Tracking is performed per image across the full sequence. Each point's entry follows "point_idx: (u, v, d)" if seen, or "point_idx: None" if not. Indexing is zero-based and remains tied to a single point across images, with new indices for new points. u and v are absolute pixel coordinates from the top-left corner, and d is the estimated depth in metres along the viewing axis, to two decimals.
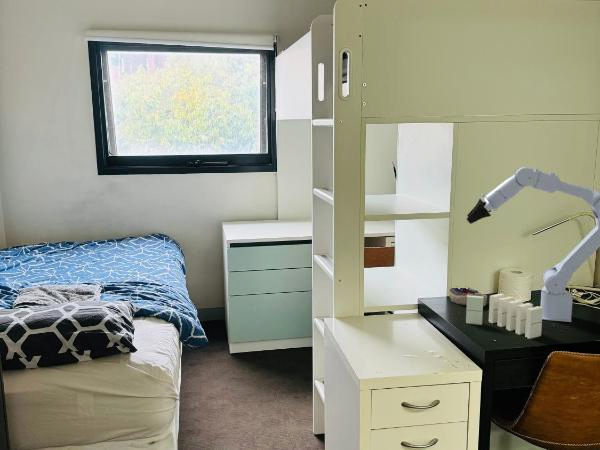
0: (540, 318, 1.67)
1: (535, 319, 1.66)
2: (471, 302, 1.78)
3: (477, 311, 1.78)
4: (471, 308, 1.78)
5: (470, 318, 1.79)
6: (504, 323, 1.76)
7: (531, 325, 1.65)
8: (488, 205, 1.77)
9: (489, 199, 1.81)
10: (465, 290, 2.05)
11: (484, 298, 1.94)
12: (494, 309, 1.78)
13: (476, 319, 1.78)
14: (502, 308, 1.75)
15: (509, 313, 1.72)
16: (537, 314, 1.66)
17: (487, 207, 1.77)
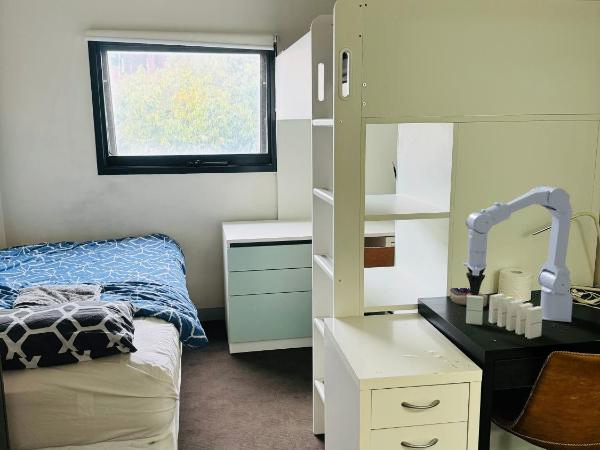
0: (540, 318, 1.67)
1: (535, 319, 1.66)
2: (471, 302, 1.78)
3: (477, 311, 1.78)
4: (471, 308, 1.78)
5: (470, 318, 1.79)
6: (504, 323, 1.76)
7: (531, 325, 1.65)
8: (474, 271, 1.70)
9: (471, 264, 1.74)
10: (465, 290, 2.05)
11: (484, 298, 1.94)
12: (494, 309, 1.78)
13: (476, 319, 1.78)
14: (502, 308, 1.75)
15: (509, 313, 1.72)
16: (537, 314, 1.66)
17: (475, 273, 1.70)
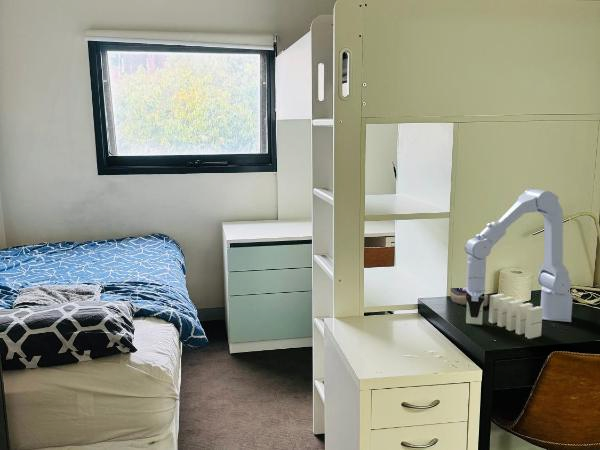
0: (540, 318, 1.67)
1: (535, 319, 1.66)
2: None
3: None
4: None
5: (470, 318, 1.79)
6: (504, 323, 1.76)
7: (531, 325, 1.65)
8: (473, 297, 1.71)
9: (471, 289, 1.75)
10: None
11: (485, 298, 1.94)
12: (494, 309, 1.78)
13: (476, 319, 1.78)
14: (502, 308, 1.75)
15: (509, 313, 1.72)
16: (537, 314, 1.66)
17: (474, 299, 1.71)
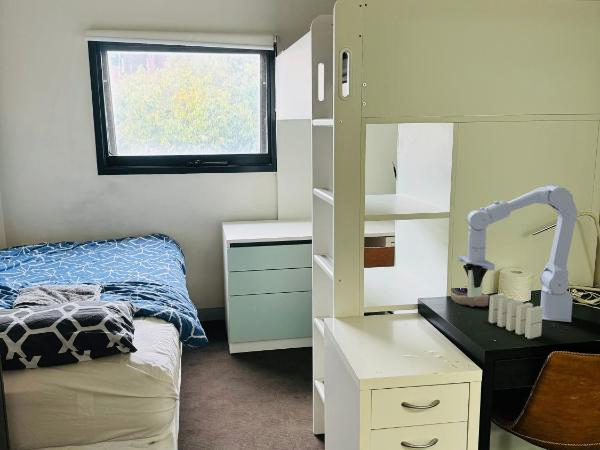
0: (540, 318, 1.67)
1: (535, 319, 1.66)
2: None
3: None
4: None
5: (474, 291, 1.83)
6: (504, 323, 1.76)
7: (531, 325, 1.65)
8: (491, 266, 1.76)
9: (478, 260, 1.80)
10: (466, 290, 2.05)
11: (486, 298, 1.94)
12: (494, 309, 1.78)
13: (478, 291, 1.84)
14: (502, 308, 1.75)
15: (509, 313, 1.72)
16: (537, 314, 1.66)
17: (491, 268, 1.76)
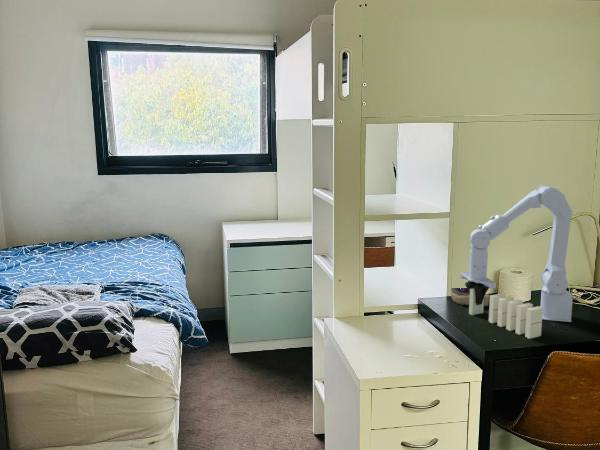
0: (540, 318, 1.67)
1: (535, 319, 1.66)
2: None
3: None
4: None
5: (475, 309, 1.87)
6: (504, 323, 1.76)
7: (531, 325, 1.65)
8: (492, 284, 1.80)
9: (480, 278, 1.83)
10: (466, 290, 2.05)
11: (487, 298, 1.94)
12: (494, 309, 1.78)
13: (479, 309, 1.88)
14: (502, 308, 1.75)
15: (509, 313, 1.72)
16: (537, 314, 1.66)
17: (493, 286, 1.80)
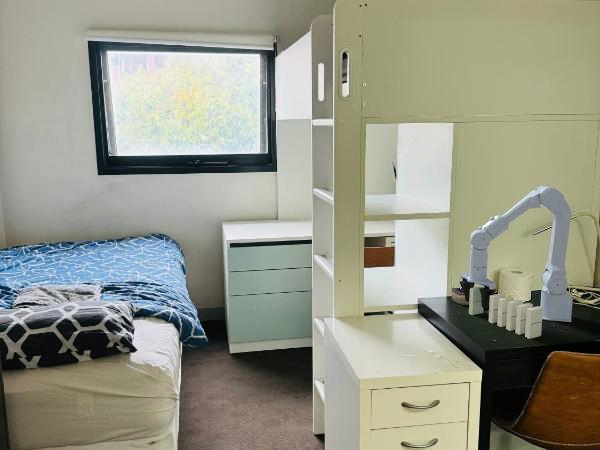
0: (540, 318, 1.67)
1: (535, 319, 1.66)
2: (476, 294, 1.86)
3: (480, 301, 1.87)
4: (476, 299, 1.87)
5: (475, 309, 1.87)
6: (504, 323, 1.76)
7: (531, 325, 1.65)
8: (492, 285, 1.80)
9: (480, 279, 1.83)
10: None
11: None
12: (494, 309, 1.78)
13: (479, 309, 1.88)
14: (502, 308, 1.75)
15: (509, 313, 1.72)
16: (537, 314, 1.66)
17: (493, 287, 1.80)
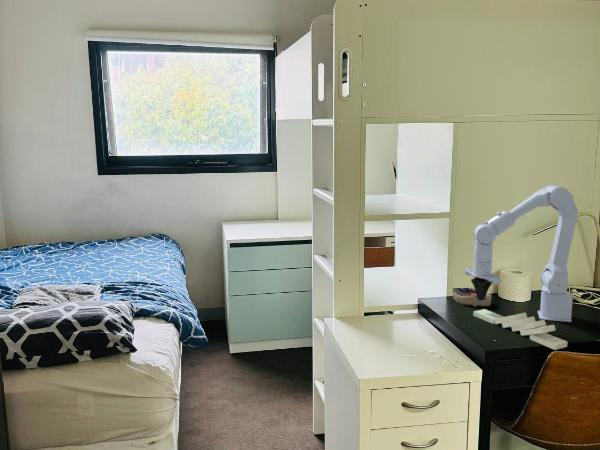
0: None
1: None
2: None
3: None
4: None
5: None
6: None
7: None
8: (497, 280, 1.78)
9: (484, 274, 1.81)
10: (468, 290, 2.05)
11: (489, 298, 1.94)
12: (507, 321, 1.74)
13: None
14: None
15: (524, 327, 1.67)
16: None
17: (498, 282, 1.78)
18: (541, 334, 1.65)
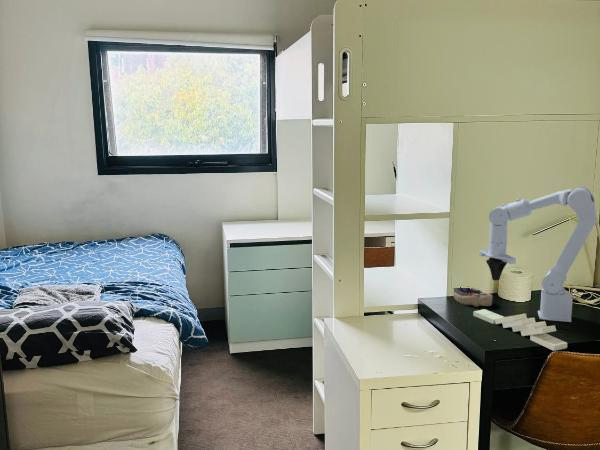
0: None
1: None
2: None
3: None
4: None
5: None
6: None
7: None
8: (512, 260, 1.83)
9: (499, 254, 1.87)
10: (468, 290, 2.05)
11: (490, 298, 1.94)
12: None
13: None
14: (517, 325, 1.69)
15: (525, 327, 1.67)
16: None
17: (513, 262, 1.83)
18: (542, 335, 1.65)
